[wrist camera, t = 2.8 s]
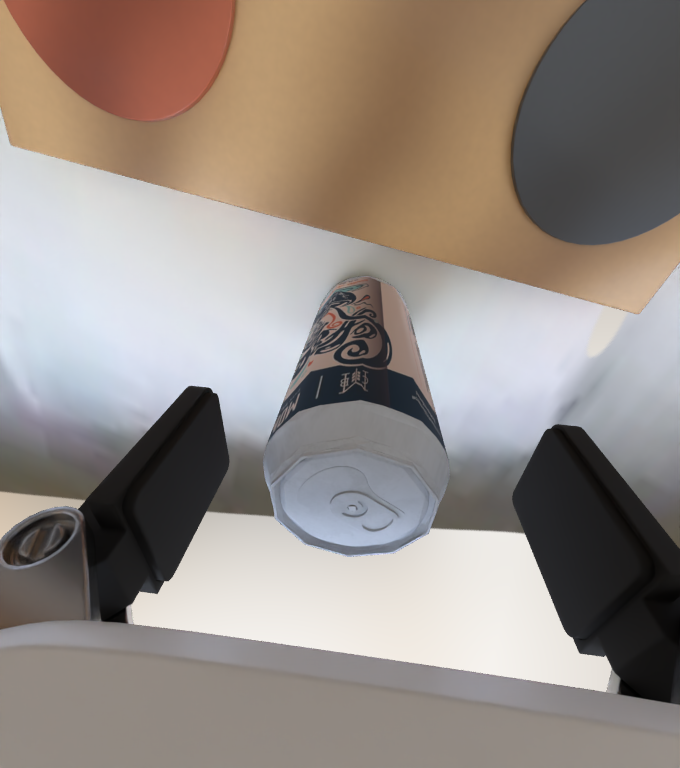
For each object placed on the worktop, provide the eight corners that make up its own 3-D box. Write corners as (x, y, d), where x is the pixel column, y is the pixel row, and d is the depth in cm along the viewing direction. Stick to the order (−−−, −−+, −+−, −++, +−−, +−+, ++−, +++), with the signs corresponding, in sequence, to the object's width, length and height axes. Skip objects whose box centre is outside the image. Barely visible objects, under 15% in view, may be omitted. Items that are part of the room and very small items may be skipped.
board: (40, 147, 15) (2, 144, 13) (-89, -435, 8) (-194, -571, 7) (618, 304, 16) (643, 317, 15) (896, -76, 10) (993, -122, 8)
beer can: (357, 252, 16) (334, 390, 6) (427, 312, 17) (505, 509, 7) (302, 323, 18) (216, 511, 8) (367, 372, 20) (364, 584, 9)
